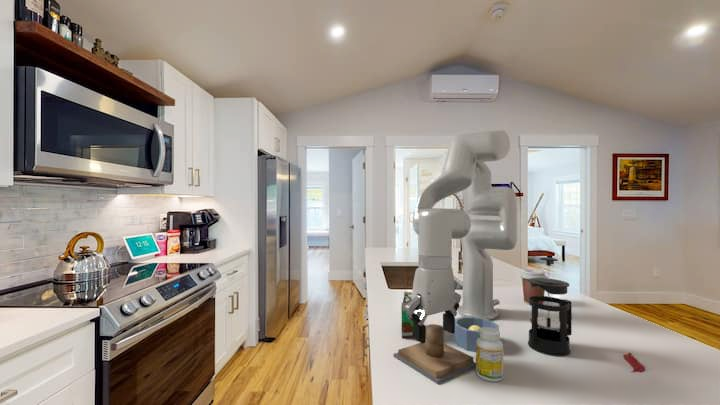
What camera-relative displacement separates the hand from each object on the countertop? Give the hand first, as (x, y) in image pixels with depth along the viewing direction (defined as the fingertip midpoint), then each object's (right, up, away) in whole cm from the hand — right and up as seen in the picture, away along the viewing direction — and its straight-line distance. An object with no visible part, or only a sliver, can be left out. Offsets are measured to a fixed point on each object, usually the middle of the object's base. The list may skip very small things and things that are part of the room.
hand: (434, 336), depth 73 cm
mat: (0, -6, 0) cm, 6 cm away
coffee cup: (+48, -7, +45) cm, 66 cm away
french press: (+31, -6, +8) cm, 33 cm away
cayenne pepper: (+46, -7, 0) cm, 47 cm away
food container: (-2, -6, +17) cm, 18 cm away
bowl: (+13, -6, +10) cm, 18 cm away
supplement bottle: (+10, -6, -6) cm, 13 cm away
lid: (0, -5, 0) cm, 5 cm away
